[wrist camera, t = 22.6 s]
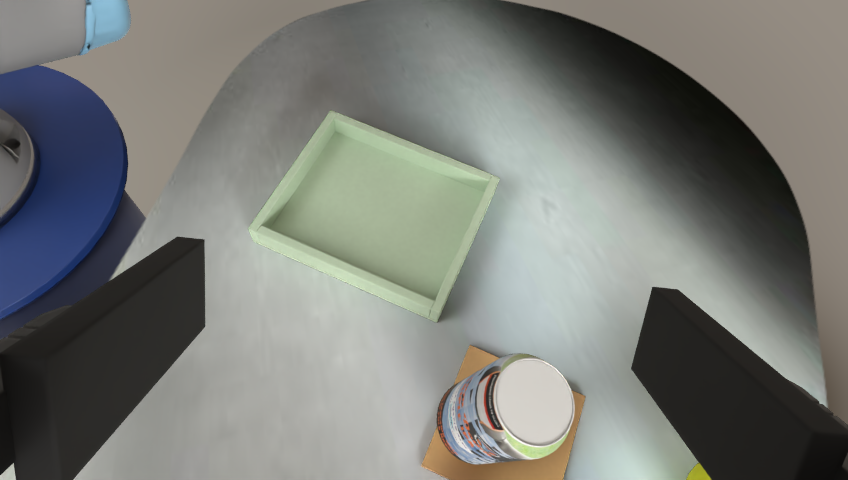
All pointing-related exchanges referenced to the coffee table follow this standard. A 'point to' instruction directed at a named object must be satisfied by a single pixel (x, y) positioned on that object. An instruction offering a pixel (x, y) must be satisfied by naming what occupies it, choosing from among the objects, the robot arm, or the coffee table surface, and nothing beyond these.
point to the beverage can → (507, 412)
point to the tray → (377, 213)
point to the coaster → (523, 476)
